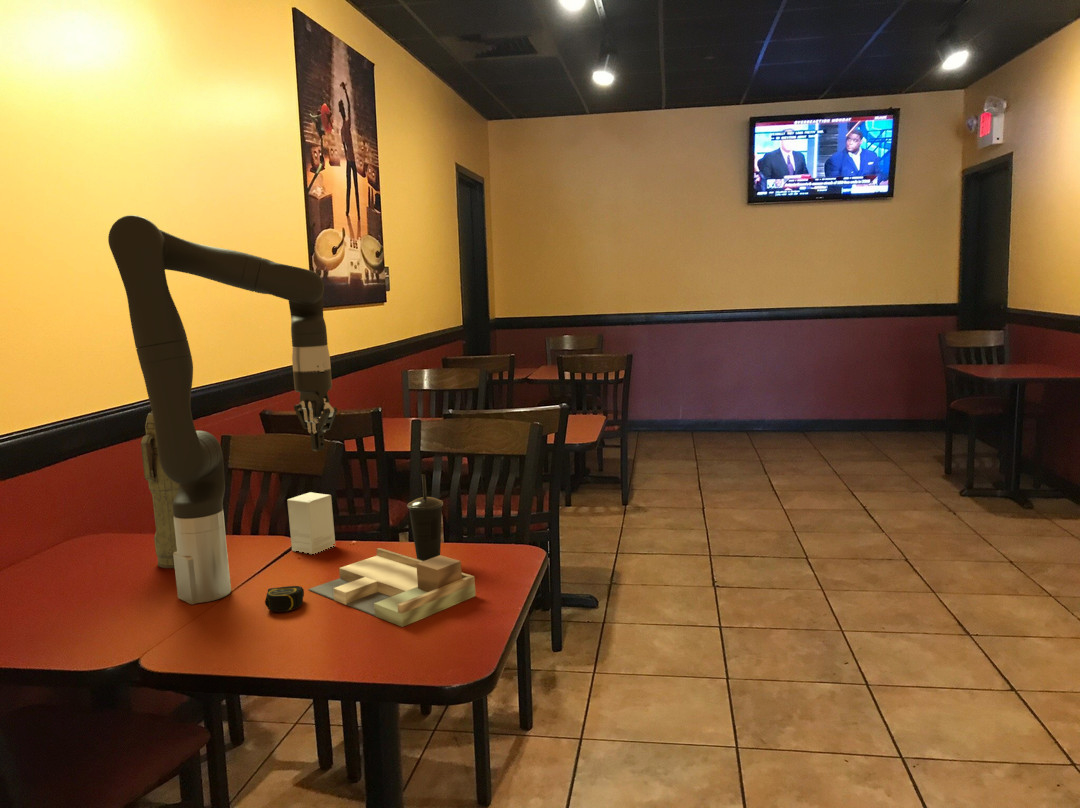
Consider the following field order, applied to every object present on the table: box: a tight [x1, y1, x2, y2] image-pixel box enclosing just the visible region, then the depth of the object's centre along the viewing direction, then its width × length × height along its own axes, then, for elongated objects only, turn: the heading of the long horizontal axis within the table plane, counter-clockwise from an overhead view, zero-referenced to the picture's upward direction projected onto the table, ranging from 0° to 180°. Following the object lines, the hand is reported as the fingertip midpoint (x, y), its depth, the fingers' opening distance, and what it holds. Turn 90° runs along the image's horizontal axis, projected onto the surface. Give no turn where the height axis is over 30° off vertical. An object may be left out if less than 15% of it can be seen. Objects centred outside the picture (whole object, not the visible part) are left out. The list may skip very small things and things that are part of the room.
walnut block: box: [416, 554, 463, 592], centre depth 156 cm, size 6×6×5 cm
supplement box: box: [287, 491, 336, 555], centre depth 191 cm, size 7×7×13 cm
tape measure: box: [264, 585, 305, 613], centre depth 156 cm, size 7×7×4 cm
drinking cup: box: [406, 473, 444, 561], centre depth 176 cm, size 8×8×20 cm
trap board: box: [308, 547, 476, 628], centre depth 161 cm, size 18×30×4 cm, turn 48°
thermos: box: [140, 410, 179, 569], centre depth 183 cm, size 9×12×35 cm
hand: (318, 450), depth 170 cm, fingers closed
